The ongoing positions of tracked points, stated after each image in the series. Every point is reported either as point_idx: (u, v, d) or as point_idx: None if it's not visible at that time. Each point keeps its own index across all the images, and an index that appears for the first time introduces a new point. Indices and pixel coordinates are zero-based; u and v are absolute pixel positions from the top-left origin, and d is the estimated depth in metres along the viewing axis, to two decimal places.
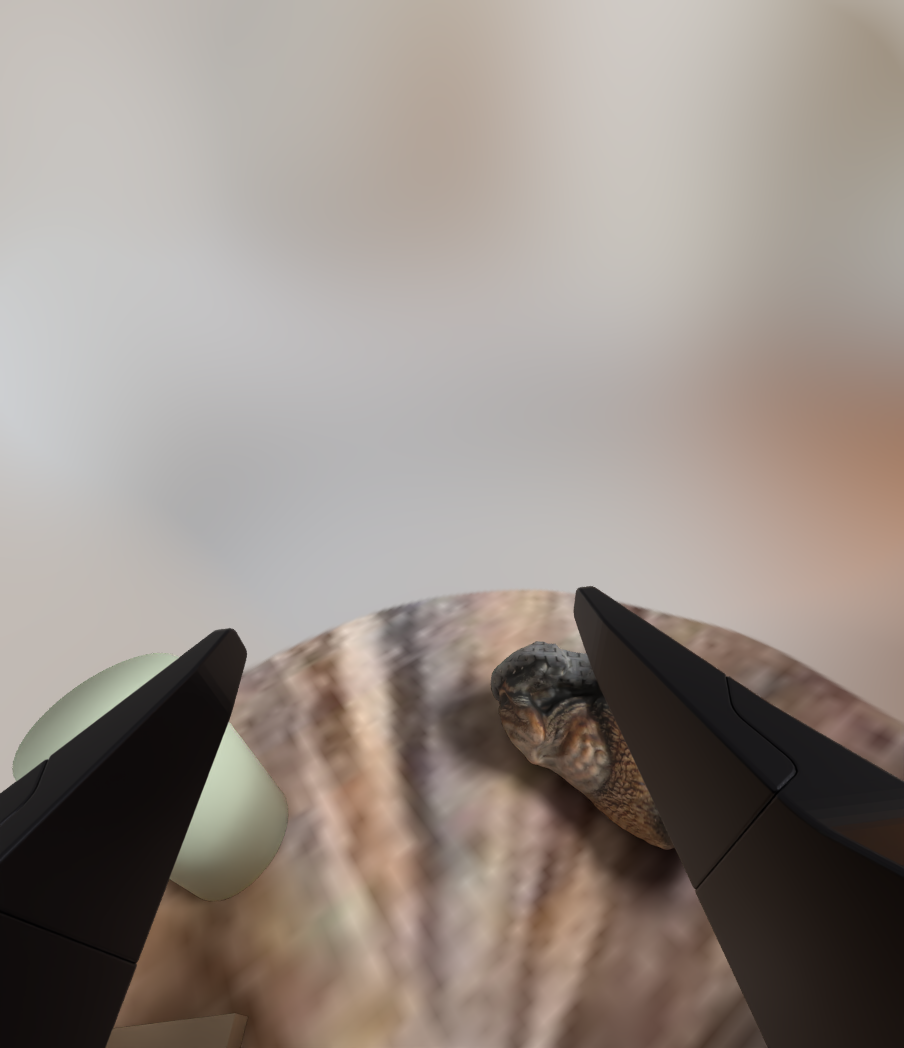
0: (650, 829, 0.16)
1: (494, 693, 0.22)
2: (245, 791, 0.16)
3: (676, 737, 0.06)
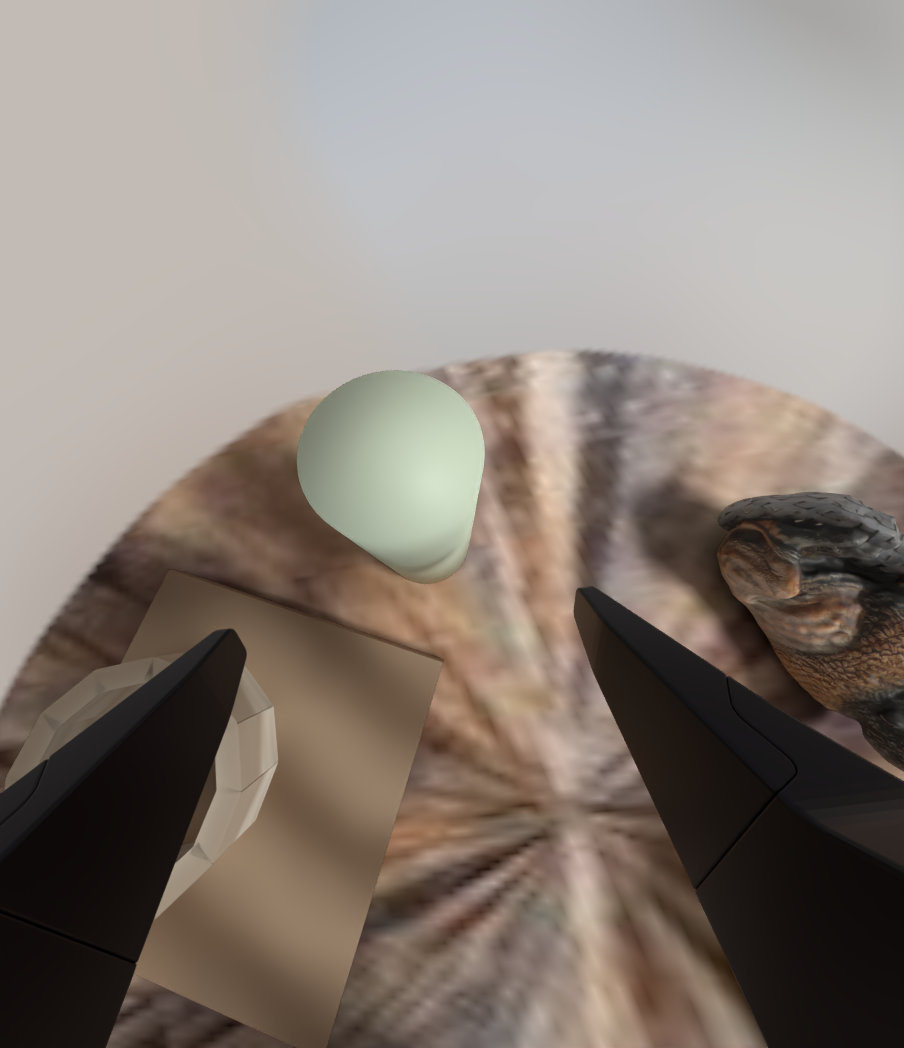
0: (838, 700, 0.17)
1: (726, 518, 0.19)
2: (468, 538, 0.16)
3: (676, 737, 0.06)
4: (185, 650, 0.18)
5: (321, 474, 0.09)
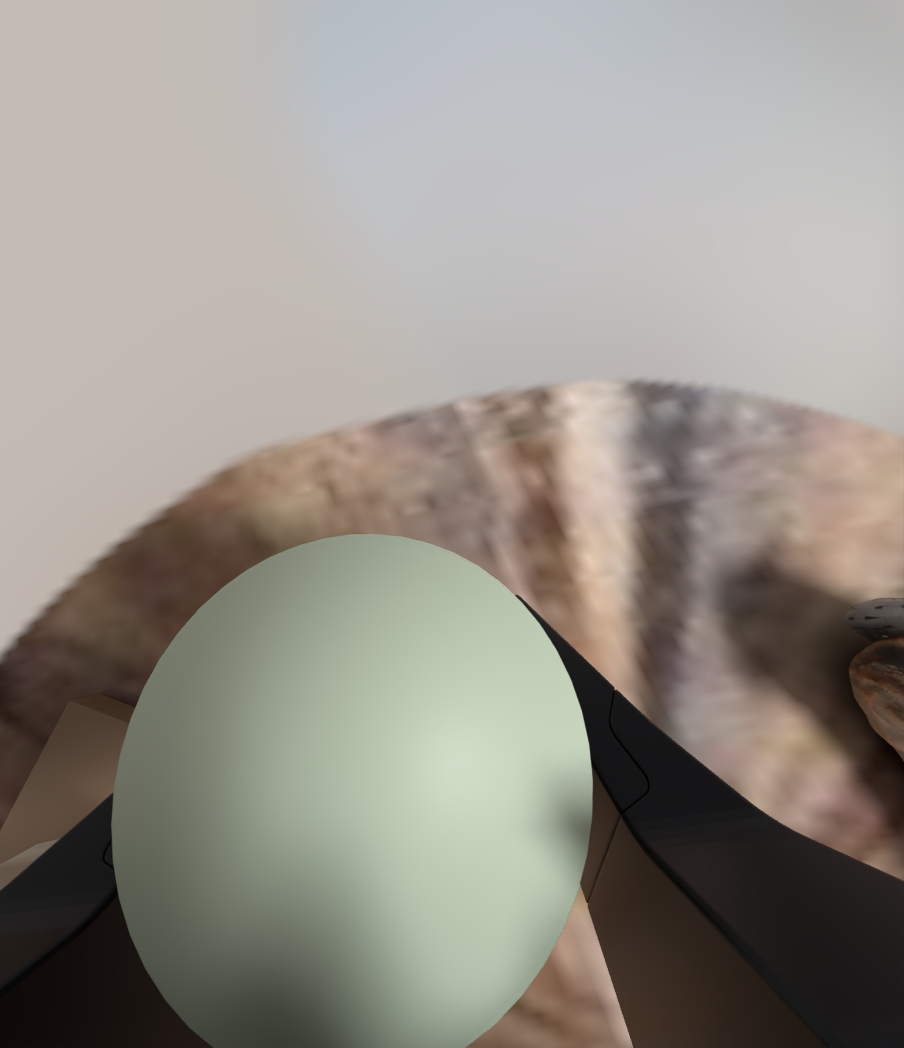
0: None
1: (867, 623, 0.13)
2: None
3: None
4: None
5: (172, 839, 0.04)
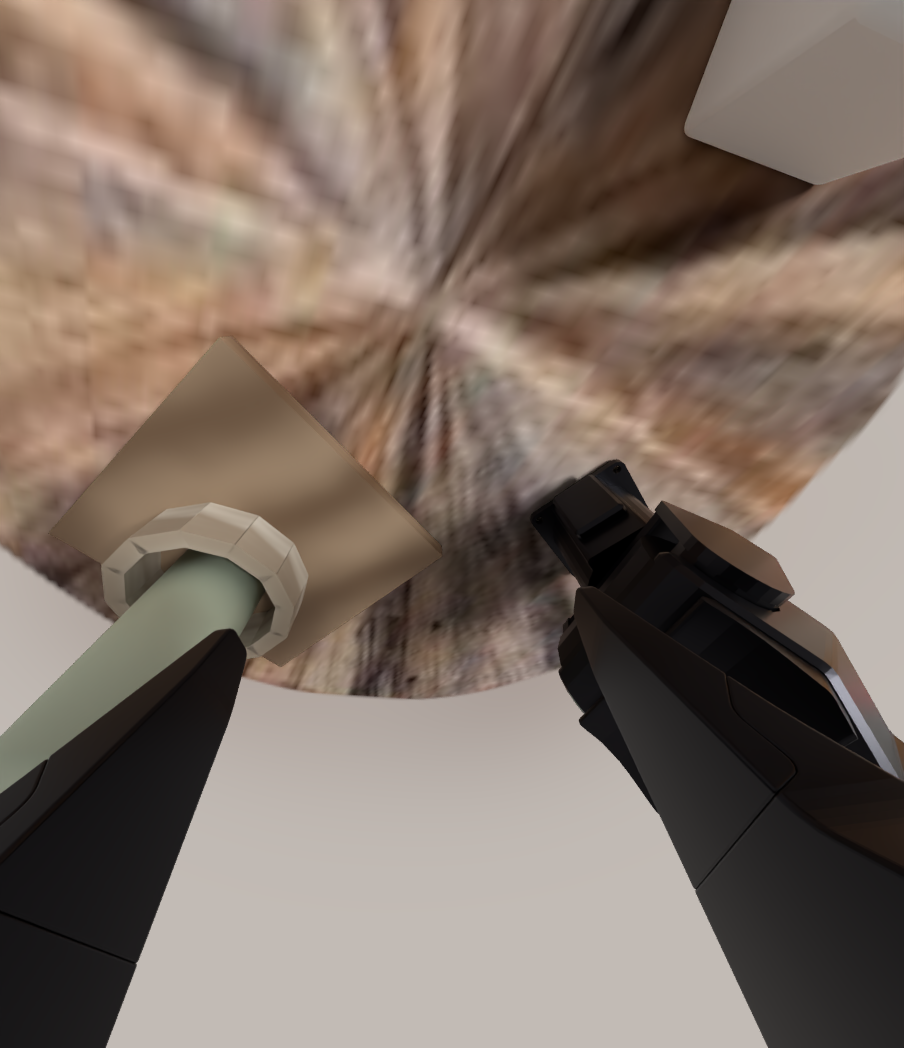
0: None
1: None
2: (182, 602, 0.17)
3: (676, 737, 0.06)
4: None
5: None
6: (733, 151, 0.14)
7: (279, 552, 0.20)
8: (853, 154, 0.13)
